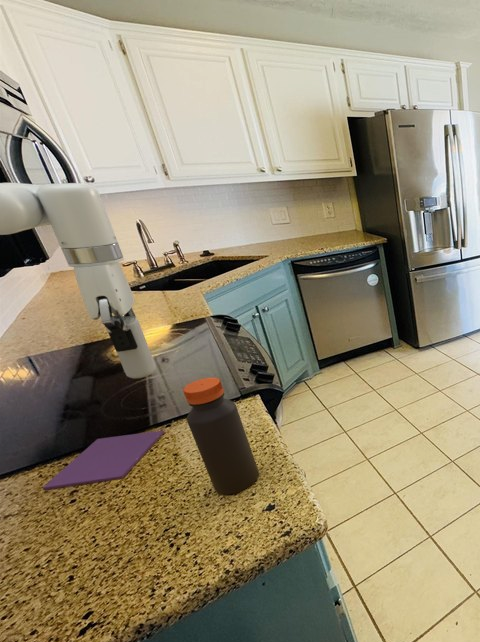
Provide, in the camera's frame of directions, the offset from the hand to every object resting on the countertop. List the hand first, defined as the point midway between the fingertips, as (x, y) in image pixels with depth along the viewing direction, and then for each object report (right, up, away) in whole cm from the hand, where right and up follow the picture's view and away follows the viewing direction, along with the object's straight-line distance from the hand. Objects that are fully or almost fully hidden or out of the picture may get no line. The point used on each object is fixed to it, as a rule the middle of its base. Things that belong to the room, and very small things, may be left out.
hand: (130, 343), depth 82 cm
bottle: (+28, -25, -9) cm, 38 cm away
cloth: (-1, -22, -3) cm, 22 cm away
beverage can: (0, -7, +3) cm, 7 cm away
